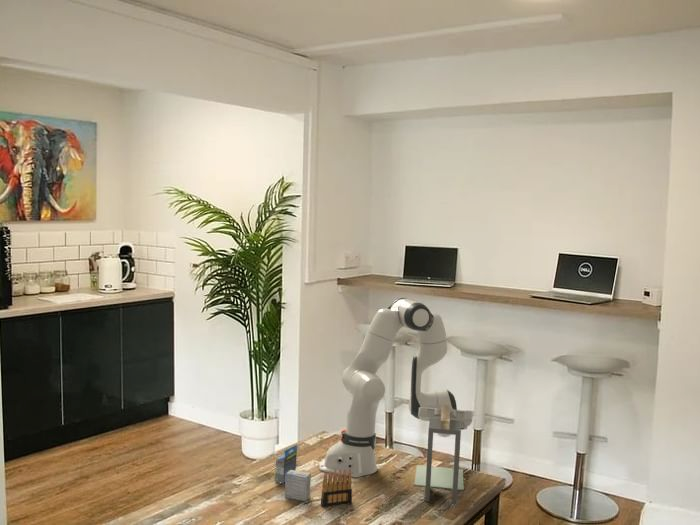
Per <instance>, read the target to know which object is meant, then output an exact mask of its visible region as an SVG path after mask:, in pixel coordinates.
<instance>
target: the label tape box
mask: <svg viewBox="0 0 700 525" xmlns="http://www.w3.org/2000/svg"><path fill="white" fill-rule="evenodd" d="M297 451H298V444H295V445H292V446H290V447H288V448H287V449H285V450H283V452H284V454H283V455H282V456H280V457H279V458H277V459H276V460H275V470H274V472H275V473H274V481H275V482H276V481H277V482H276V483H279V482H281V483H280V484H285V483H284V482H285V474H286V473H287V472H289V471H290V470H295V471H297V458H298V457H297V454H298V452H297Z"/></svg>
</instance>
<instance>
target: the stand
mask: <svg viewBox="0 0 700 525" xmlns="http://www.w3.org/2000/svg"><path fill="white" fill-rule="evenodd" d="M440 428H441V419H435V418H430V421H428V432H427V433H428V434H427V452H426V453H427V454H426V466H427V469H426V487H424V488H425V491H424V502H429V503H430V497H431V496H430V495H431V487H430V484H431V466H432V463H433V448H434V447H433V446H434V445H433V443H434V434H437V433H441V434H452V435H453V436H454V437H455V439H454V440H455V442H454V456H453V469H454V471H453V489H451V490H452V493H451V494H452V500H451V503H452V505H455V504H458V491H459V490H458V474H459V469H460V454H461V452H460V450H461V436H462V430H461V421H458V420H450V425H449V430H444V429H440ZM452 435H451V436H452Z"/></svg>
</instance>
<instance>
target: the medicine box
mask: <svg viewBox="0 0 700 525" xmlns="http://www.w3.org/2000/svg"><path fill="white" fill-rule="evenodd" d="M311 476H312V474H311V472H306V471H301V470H296V471H295V470H290V471H289V472H287V473H286V474H285V483H284V484H285V485H284V498H285V497H286V499H290V498H291V499H292V500H295V499H296V500H297V501H302V502H307V500H308V499H309V498H311V484H312V483H311V482H312V481H311V479H312V478H311ZM291 499H290V500H291Z"/></svg>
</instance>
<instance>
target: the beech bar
mask: <svg viewBox="0 0 700 525" xmlns="http://www.w3.org/2000/svg"><path fill="white" fill-rule="evenodd" d="M449 425H450V406H449V405H442V409H441V428H440V429H444V430H449Z"/></svg>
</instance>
